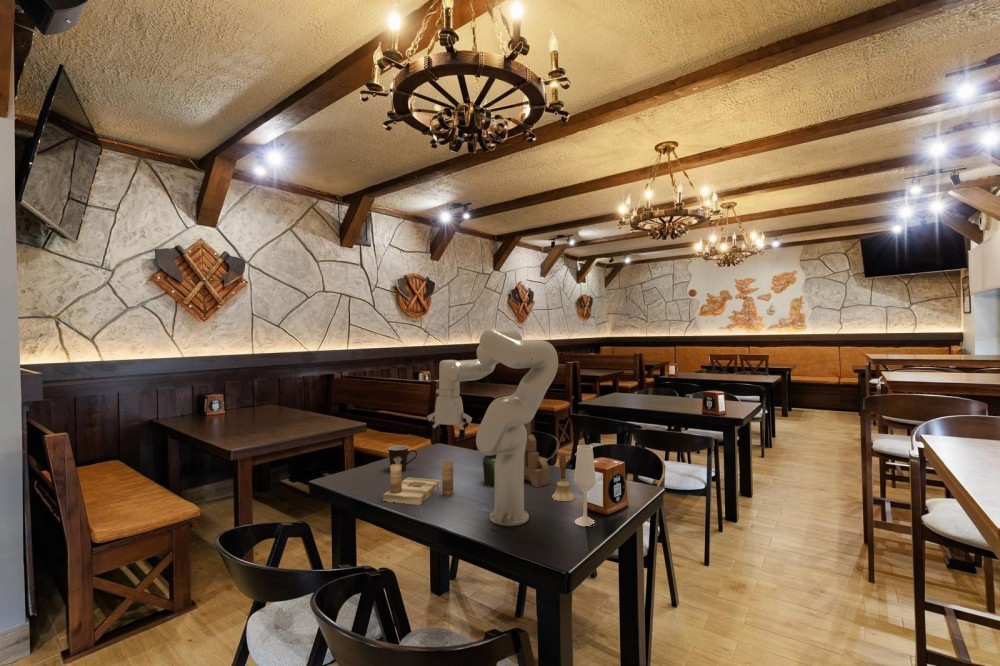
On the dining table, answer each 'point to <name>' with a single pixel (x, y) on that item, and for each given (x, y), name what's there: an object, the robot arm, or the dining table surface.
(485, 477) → the potion bottle
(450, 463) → the peg
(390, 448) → the coffee mug
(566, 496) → the hand bell
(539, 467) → the wooden toy
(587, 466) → the champagne flute
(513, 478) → the robot arm
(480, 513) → the dining table surface
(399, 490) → the board
